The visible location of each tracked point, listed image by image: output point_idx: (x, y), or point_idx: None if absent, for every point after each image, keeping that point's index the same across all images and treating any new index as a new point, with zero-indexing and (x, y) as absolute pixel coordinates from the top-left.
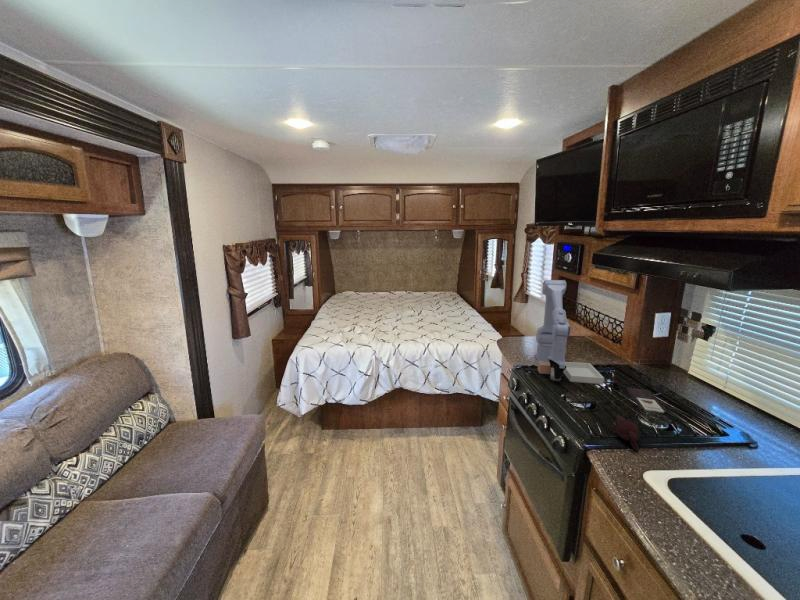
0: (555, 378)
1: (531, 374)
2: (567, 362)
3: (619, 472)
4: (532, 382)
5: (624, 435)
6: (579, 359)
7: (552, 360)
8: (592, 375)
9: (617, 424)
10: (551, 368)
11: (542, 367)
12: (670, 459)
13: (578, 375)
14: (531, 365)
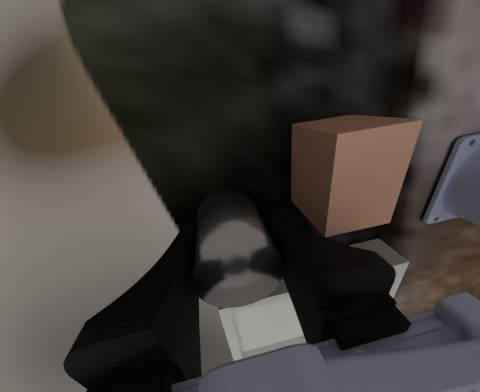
0: (183, 227)
1: (259, 42)
2: (391, 289)
3: None
4: (65, 21)
5: None
6: (431, 295)
7: (323, 303)
8: (293, 333)
9: None
10: (229, 240)
11: (319, 152)
12: None
13: (284, 303)
14: (427, 72)
